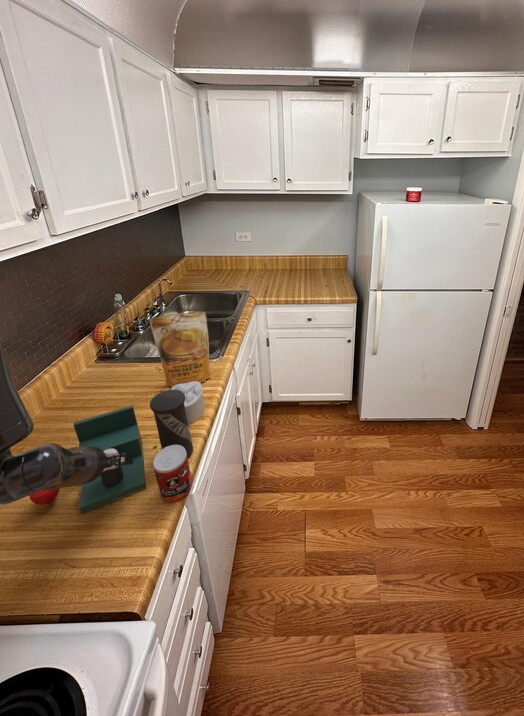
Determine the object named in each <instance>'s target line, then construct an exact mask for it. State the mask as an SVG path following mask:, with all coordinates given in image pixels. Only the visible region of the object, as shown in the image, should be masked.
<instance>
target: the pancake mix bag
mask: <svg viewBox="0 0 524 716" xmlns="http://www.w3.org/2000/svg"><path fill="white" fill-rule="evenodd" d="M207 316H208V315H207V313H206V312H203V311H202V310H196V311H189V312H182V313H181V312H180V313H172V314H165V315H160V316H154V317H152V318H150V319H149V320H148V323H149V327H150V330H151V333H152V336H153V339H154V344H155V347H156V350H157V353H158V356H159V359H160V363H161V367H162V369H163V372H164V379H165V384H164V385H165V387H170V388H172V387H174V386H175V385H177V384H183V383H189V382H193V381H197V382H204V381H206V382H207V380H206V379H208V380H210V379H212V377H211V374H210V342H209V341H210V337H209V336H210V335H209V327H208V317H207ZM209 378H210V379H209ZM204 383H205V382H204Z"/></svg>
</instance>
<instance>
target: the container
mask: <svg viewBox="0 0 524 716" xmlns="http://www.w3.org/2000/svg"><path fill="white" fill-rule="evenodd" d="M184 402H185V394H184V393H183V392H182V391H180V390H171V389H166V390H163V391H160V392H158V393H156V394H155V395H154V396H153V397H151V399H150V402H149V409H150V410H151V411H152V412H153V416H154V420H155V425H156V429H157V434H158V438H159V443H160V444H159V445H160V448H161V450H162V449H164V448H165V447H168V446H171V445H180V446H183V447H184V448H185V450H186V453H187V458H188V459H189V458H190V457H191V456H192V454H193V452H194V446H193V445H194V444H193V440H192V436H191V435H192V434H191V431H190V424H189V425H188V420H187V416H186V411H185V406H184Z"/></svg>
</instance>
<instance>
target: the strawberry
mask: <svg viewBox="0 0 524 716" xmlns="http://www.w3.org/2000/svg"><path fill="white" fill-rule="evenodd" d="M60 490H61V488H59V489H54V490H41V491H38V492H36V493H34V494H31V495H29V496H28V497H29V500H30V501H31V502H32V503H34V504H35V505H37V506H48V505H49V506H50V505H52V504H53V503H54V502H55V500H56V499H57V497H58V495H59V493H60Z"/></svg>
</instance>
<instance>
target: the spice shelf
mask: <svg viewBox="0 0 524 716" xmlns="http://www.w3.org/2000/svg"><path fill="white" fill-rule="evenodd" d="M73 428H74V431H75V434H76V437H77V440H78V442H79V443H78V447H84V446H96V447H99V448H100V449H102V450H103V451H104V450H107V449H116V450H117V452H118V453H119V455H120V454H122V453H124V454H125V453H126V454H128V453H134V459H133V464H131V465H129V464H128V465H124V466H121V468H122V471H123V479H122V480H121V481H120V482H119V483H118V484H117V485H115V486H112V487H105V486H104V485H103V482H102V479H101V476H99V477H98V478H96V479H95V480H94V481H92V482H89V483H86V484H82V485H81V489H80V497H79V505H78V509H79V512H80V514H85V513H87V512H89V511H92V510H95V509H97V508H99V507H102V506H105V505H107V504H109V503H112V502H114V501H117V500H119V499H122V498H125V497H128V496H130V495H133V494H136V493H137V492H141V491H142V490H145V489H146V488H147V487H146V486H147V485H146V475H145V461H144V446H143V440H142V436H141V432H140V428H139V424H138V421H137V416H136V413H135V407H134V405H133V404H132V405H129V406H125V407H121V408H118V409H115V410H111V411H107V412H105V413H101V414H97V415H94V416H91V417H88V418H84V419H81V420H80V419H79V420H77V421H73Z"/></svg>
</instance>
